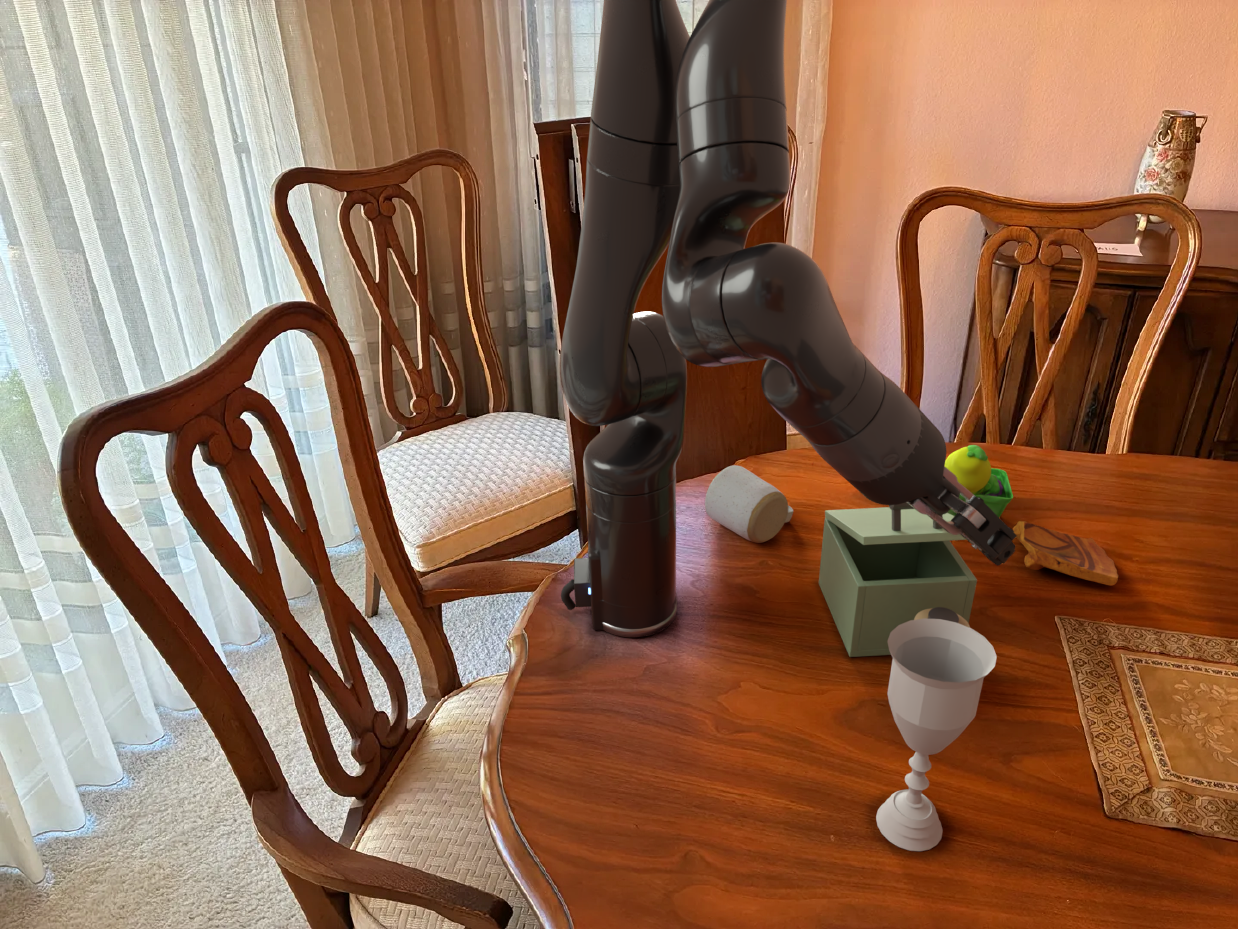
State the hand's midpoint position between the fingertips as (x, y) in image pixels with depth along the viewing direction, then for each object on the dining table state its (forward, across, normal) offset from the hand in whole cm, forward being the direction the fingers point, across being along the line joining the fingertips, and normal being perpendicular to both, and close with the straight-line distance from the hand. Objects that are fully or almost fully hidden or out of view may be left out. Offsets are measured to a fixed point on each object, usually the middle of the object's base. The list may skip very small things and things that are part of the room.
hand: (967, 529), depth 73 cm
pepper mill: (+12, 0, +14) cm, 18 cm away
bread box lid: (+7, +11, +3) cm, 13 cm away
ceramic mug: (+12, +33, +14) cm, 38 cm away
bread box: (+15, +11, +11) cm, 22 cm away
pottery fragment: (+32, +10, -6) cm, 34 cm away
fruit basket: (+30, +24, -3) cm, 38 cm away
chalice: (+4, -11, +22) cm, 25 cm away
